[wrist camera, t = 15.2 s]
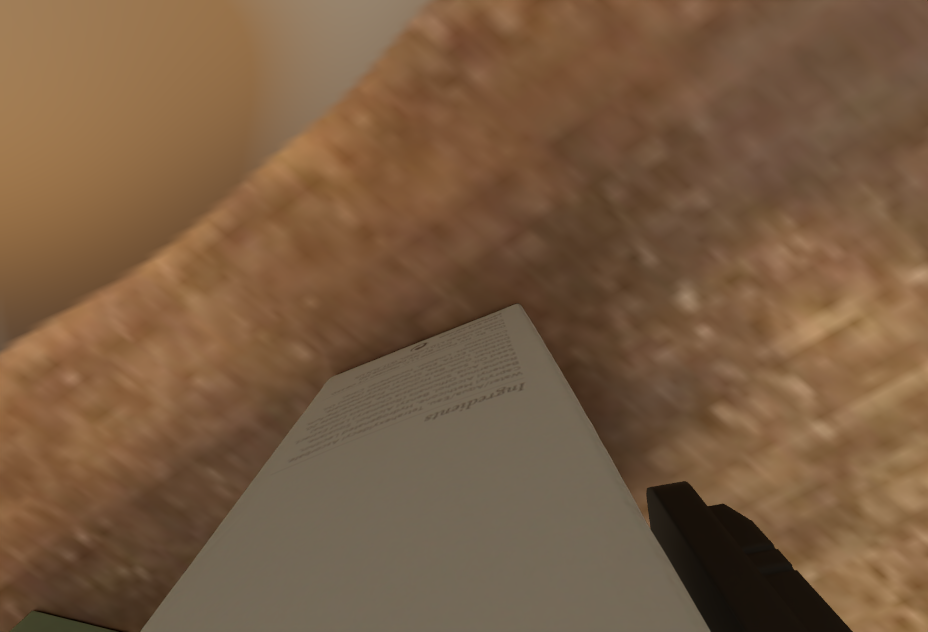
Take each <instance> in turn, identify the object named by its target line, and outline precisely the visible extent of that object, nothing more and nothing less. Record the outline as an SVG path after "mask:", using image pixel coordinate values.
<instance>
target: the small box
mask: <svg viewBox="0 0 928 632" xmlns="http://www.w3.org/2000/svg"><path fill="white" fill-rule="evenodd" d="M140 632H711V631H710V630H709V628H708V626H707V624H706V623H705V621H704V619H703V617H702V616H701V614H700V612H699V611H698V609H697V607H696V605H695V604H694V602H693V600H692V599H691V597H690V595H689V593H688V592H687V590H686V588H685V586H684V585H683V583H682V581H681V580H680V578H679V576H678V574H677V573H676V571H675V569H674V568H673V566H672V564H671V562H670V561H669V559H668V557H667V556H666V554H665V552H664V551H663V549H662V547H661V546H660V544H659V543H658V541H657V539H656V538H655V536H654V534H653V533H652V531H651V529H650V528H649V526H648V524H647V523H646V521H645V519H644V517H643V515H642V513H641V511H640V510H639V508H638V506H637V504H636V502H635V500H634V498H633V497H632V495H631V493H630V491H629V489H628V488H627V486H626V484H625V483H624V481H623V479H622V477H621V476H620V474H619V472H618V470H617V468H616V466H615V464H614V463H613V461H612V459H611V457H610V455H609V454H608V452H607V450H606V448H605V447H604V445H603V443H602V442H601V440H600V438H599V436H598V434H597V432H596V430H595V428H594V426H593V425H592V423H591V422H590V420H589V418H588V417H587V415H586V414H585V412H584V410H583V408H582V406H581V405H580V403H579V401H578V399H577V398H576V396H575V394H574V392H573V390H572V389H571V387H570V385H569V384H568V382H567V380H566V379H565V377H564V375H563V374H562V372H561V370H560V368H559V367H558V365H557V363H556V362H555V360H554V358H553V357H552V355H551V353H550V351H549V350H548V348H547V347H546V345H545V343H544V341H543V340H542V338H541V336H540V335H539V333H538V331H537V330H536V328H535V326H534V325H533V323H532V322H531V320H530V318H529V317H528V315H527V314H526V312H525V311H524V309H523V307H522V306H521V305H520V304H514V305H512V306H509V307H507V308H504V309H502V310H500V311H497V312H495V313H492V314H490V315H487V316H484V317H482V318H479V319H477V320H474V321H472V322H469V323H467V324H464V325H461V326H459V327H456V328H454V329H451V330H449V331H446V332H444V333H441V334H439V335H436V336H434V337H431V338H429V339H426V340H423V341H421V342H418V343H416V344H413V345H411V346H408V347H406V348H403V349H401V350H398V351H396V352H393V353H391V354H388V355H386V356H383V357H381V358H378V359H376V360H373V361H371V362H368V363H366V364H363V365H360V366H358V367H355V368H353V369H350V370H348V371H346V372H343V373H341V374H338V375H335V376H333V377H331V378H330V379H329V380H328V381H327V382H326V383H325V385H324V386H323V388H322V389H321V390H320V392H319V393H318V394H317V395H316V397H315V398H314V399H313V401H312V402H311V403H310V405H309V406H308V408H307V409H306V410H305V412H304V413H303V414H302V415H301V417H300V418H299V419H298V421H297V422H296V423H295V425H294V426H293V427H292V429H291V430H290V431H289V433H288V434H287V435H286V437H285V438H284V439H283V441H282V442H281V443H280V445H279V446H278V447H277V449H276V450H275V451H274V453H273V454H272V456H271V457H270V458H269V460H268V461H267V462H266V463H265V465H264V466H263V467H262V469H261V470H260V471H259V473H258V474H257V475H256V477H255V478H254V479H253V481H252V482H251V483H250V485H249V486H248V488H247V489H246V490H245V492H244V493H243V494H242V496H241V497H240V498H239V500H238V501H237V502H236V504H235V505H234V506H233V508H232V509H231V510H230V512H229V513H228V514H227V516H226V517H225V518H224V520H223V521H222V523H221V524H220V525H219V527H218V528H217V529H216V531H215V532H214V533H213V535H212V536H211V537H210V539H209V540H208V541H207V543H206V544H205V545H204V547H203V548H202V550H201V551H200V552H199V554H198V555H197V556H196V558H195V559H194V560H193V562H192V563H191V565H190V566H189V567H188V568H187V570H186V571H185V572H184V574H183V575H182V576H181V578H180V579H179V580H178V582H177V583H176V584H175V586H174V587H173V588H172V590H171V591H170V592H169V594H168V595H167V596H166V598H165V599H164V600H163V602H162V603H161V604H160V606H159V607H158V608H157V610H156V611H155V612H154V614H153V615H152V616H151V618H150V619H149V620H148V622H147V623H146V624H145V626H144V627H143V628H142V630H141V631H140Z"/></svg>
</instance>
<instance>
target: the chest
mask: <svg viewBox="0 0 928 632" xmlns="http://www.w3.org/2000/svg"><path fill="white" fill-rule="evenodd" d="M10 632H117V631H113V630H109V629H105V628H101V627H97V626H93V625H89V624H85V623H81V622H77V621H73V620H69V619H65V618H61V617H57V616H53V615H49V614H45V613H41V612H37V611H31V612H30V613H29V614H28V615H27V616H26V617H25V618H24V619H23V620H22V621H21V622H20V623H18V624H17V625H16V626H15V627H14V628H13V629H12V630H11V631H10Z"/></svg>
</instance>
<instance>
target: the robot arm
mask: <svg viewBox="0 0 928 632" xmlns="http://www.w3.org/2000/svg"><path fill="white" fill-rule="evenodd" d="M647 503H648V511H649V519H650V527H651V531H652V533H653V534H654V536H655V538H656V539H657V541H658V543H659V544H660V546H661V547H662V549H663V551H664V552H665V554H666V556H667V557H668V559H669V561H670V562H671V564H672V566H673V568H674V569H675V571H676V573H677V574H678V576H679V578H680V580H681V581H682V583H683V585H684V586H685V588H686V590H687V592H688V593H689V595H690V597H691V599H692V600H693V602H694V604H695V605H696V607H697V609H698V611H699V612H700V614H701V616H702V617H703V619H704V621H705V623H706V624H707V626H708V628H709V630H710V631H711V632H852V630H851V629H850V628H849V627H848V626H847V625H846V624H845V623H844V622H843V621H842V619H841V618H840V617H839V616H838V615H837V614H836V613H835V612H834V611H833V610H832V608H831V607H830V606H829V605H828V604H827V603H826V602H825V601H824V600H823V599H822V597H821V596H820V595H819V594H818V593H817V592H816V591H815V590H814V589H813V588H812V586H811V585H810V584H809V583H808V582H807V581H806V580H805V579H804V578H803V577H802V575H801V574H800V573H799V572H798V571H797V570H794V569H793V567H792V564H791V563H790V562H789V561H788V560H787V559H786V558H785V557H784V556H783V554H782V553H781V552H780V551H779V550H778V549H775V548H774V545H773V543H772V542H771V541H770V540H769V539H768V538H767V537H766V536H765V535H764V534H763V532H762V531H761V530H760V529H759V528H758V527H757V526H756V525H755V524H754V523H753V521H751V520H750V519H748V518H746V517H745V516H743V515H741V514H740V513H738V512H736V511H735V510H733V509H732V508H730V507H728V506H727V505H725V504H719V505H714V506H707V505H706V504H705V502H704V501H703V500H702V499H701V498H700V496H699V495H698V494H697V493H696V491H695V490H694V489H693V488H692V486H691V485H690V484H689V483H688V482H686V481H683V482H677V483H672V484H666V485H660V486H655V487H649V488H647Z"/></svg>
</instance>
